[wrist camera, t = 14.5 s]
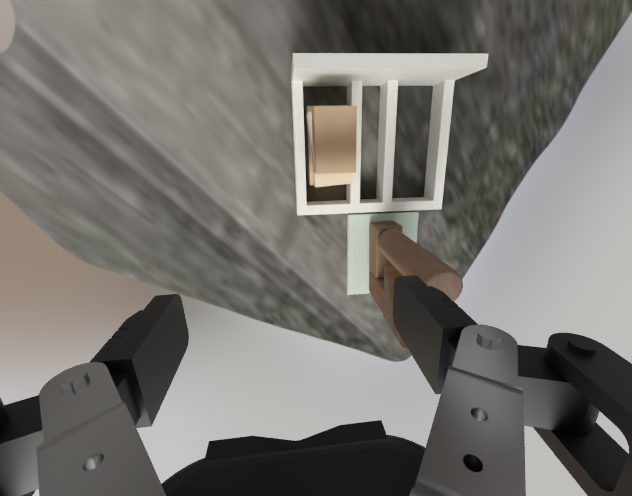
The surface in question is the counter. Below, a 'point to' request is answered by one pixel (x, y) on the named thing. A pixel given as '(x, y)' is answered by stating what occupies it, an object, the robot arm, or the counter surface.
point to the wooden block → (403, 268)
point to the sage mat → (360, 244)
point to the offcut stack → (331, 144)
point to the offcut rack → (381, 119)
